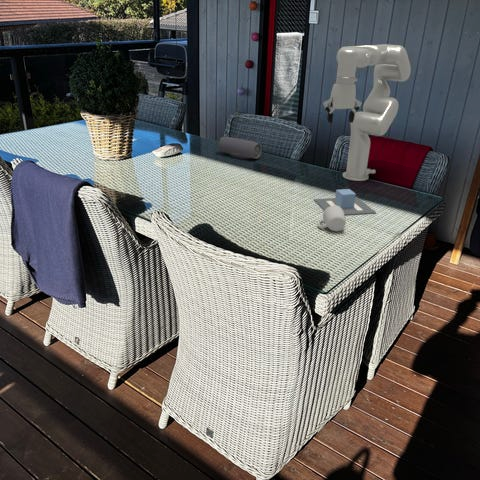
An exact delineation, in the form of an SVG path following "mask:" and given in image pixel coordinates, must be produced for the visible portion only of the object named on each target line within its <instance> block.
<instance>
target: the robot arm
mask: <svg viewBox="0 0 480 480" xmlns="http://www.w3.org/2000/svg"><path fill="white" fill-rule="evenodd" d="M336 62H337V68H336V69H337V71H336V80H335V83H334V84H333V85H332V88H331V91H330V97H329V99H327V100H325V101H323V102H322V104H323V107H324V109H325V111H326V113H327V117H326V118H327V119H326V120H327V122H328V124H332V123H333V117H334V114H333V113H334V111H335V110H350V112H349V114H348V122H350V139H349V148H348V153H347V154H348V155H347V164H346V171H343V173H342V177H343V178H344V179H346V180H349V181H353V182H354V181H355V182H364V181H367V180H369V178H370V177H369V176H370V174H371V175H374V174H376V169H371V168H368V163H369V155H370V149H371V138H370V137H369V135H371V136H372V135H373V136H377V137H381V136H382V137H383V136H384V135H385V134H386V133H387V132H388V130H389V128H390V126H391V124H392V123H393V121H394V120H395V118H396V117H397V116H396V115H397V114H398V111H399V101H398V100H397V98H395V97H390V95H391V88H390V86H389V84H388V83H387V81H394V82H406V81H408V80H409V78H410V76H411V72H412V70H411V69H412V66H411V63H410V60H409V56H408V52H407V50H406V48H405V47H404V46H402V45H399V44H387V43H384V44H383V43H381V44H380V43H379V44H370V45H369V44H368V45H351V46H342V47H340V48H339V50H338V51H337V53H336ZM368 66H369V67H371V66H372V67H373V66H374V68H373V88H372V89H371V92H370V93H369V95H368V96H367V98H366V99H365V101H364V103H363V102H362V101H360V100H358V99H357V97H356V95H357V90H356V88H357V87H356V84H355V82H358V77H356V72H357V68H360V69H361V68H366V67H368ZM362 104H363V106H362ZM328 106H329V107H328ZM361 106H362V111H358V110H360V108H361Z"/></svg>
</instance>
